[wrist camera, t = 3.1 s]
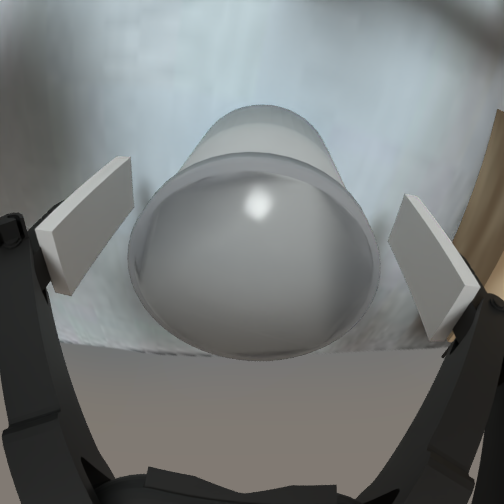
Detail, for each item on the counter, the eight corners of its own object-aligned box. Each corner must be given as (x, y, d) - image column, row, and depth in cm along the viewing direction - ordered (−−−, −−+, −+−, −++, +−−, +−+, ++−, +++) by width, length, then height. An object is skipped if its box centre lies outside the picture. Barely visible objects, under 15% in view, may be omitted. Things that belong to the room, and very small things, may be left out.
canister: (192, 221, 18) (144, 344, 11) (196, 94, 14) (114, 152, 7) (317, 237, 19) (337, 367, 11) (345, 114, 14) (417, 191, 7)
